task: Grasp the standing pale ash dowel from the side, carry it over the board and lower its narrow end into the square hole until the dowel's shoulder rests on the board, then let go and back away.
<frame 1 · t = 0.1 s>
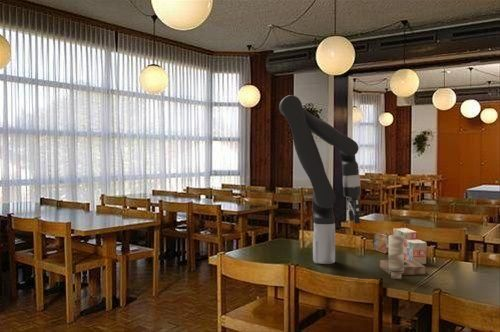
hand: (354, 221, 208), 17 cm above the table, tool pointing down, fingers open, 8 cm apart
tin: (382, 252, 227), on the table
board: (402, 270, 191), on the table
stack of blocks: (409, 259, 212), on the table
dowel: (396, 277, 180), on the table
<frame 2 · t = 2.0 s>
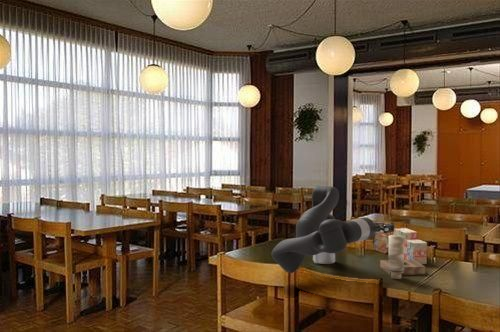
hand: (382, 224, 171), 22 cm above the table, tool horizontal, fingers open, 8 cm apart
nothing on the table moved.
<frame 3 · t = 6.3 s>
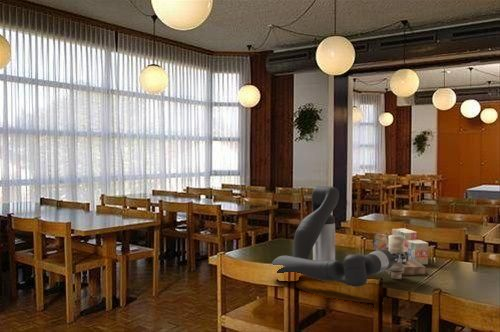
hand: (399, 253, 182), 9 cm above the table, tool horizontal, fingers closed on dowel, 5 cm apart
dowel: (396, 277, 180), on the table, touching gripper
when the fingers open (10 cm above the table, at t = 11.9 s): dowel stays where it is, resting on board.
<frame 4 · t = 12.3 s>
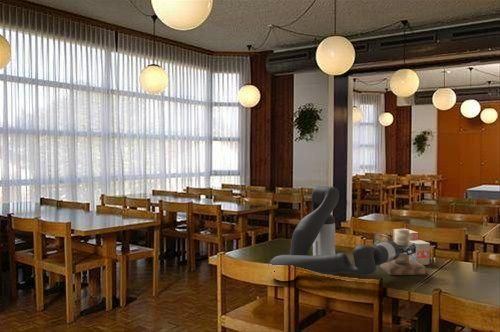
hand: (404, 245, 192), 10 cm above the table, tool horizontal, fingers open, 8 cm apart
dowel: (401, 269, 191), resting on board
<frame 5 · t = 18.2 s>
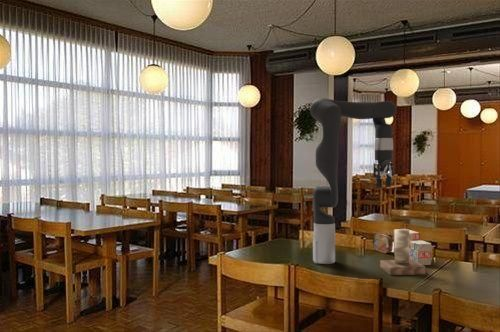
hand: (384, 187, 199), 33 cm above the table, tool pointing down, fingers open, 8 cm apart
at the end: dowel 0.1 cm off-centre on the board, point 0.5 cm above the board's base; dowel tilted 0°; the gripper is holding nothing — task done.
